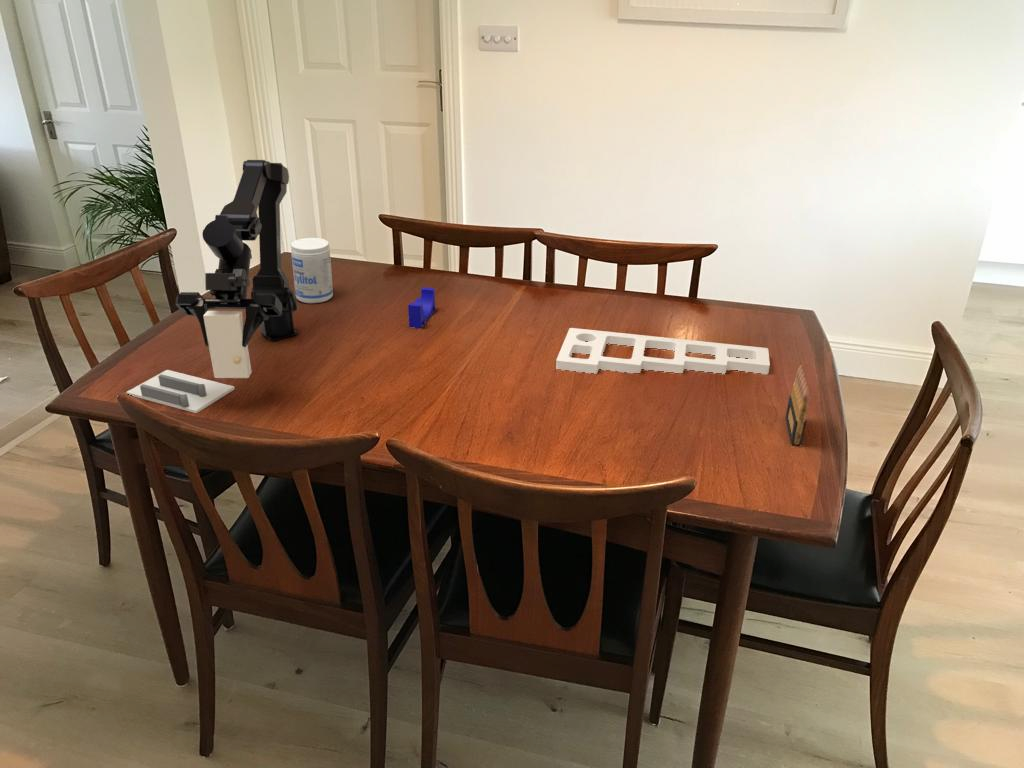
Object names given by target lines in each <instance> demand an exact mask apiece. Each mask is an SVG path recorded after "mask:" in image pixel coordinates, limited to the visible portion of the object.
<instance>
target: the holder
mask: <svg viewBox="0 0 1024 768" xmlns="http://www.w3.org/2000/svg"><path fill="white" fill-rule="evenodd" d="M585 341H588V342H585ZM608 343H609V344H608ZM606 344H608V345H610V344H617V345H616V346H619V345H627V346H626V347H629V346H634V347H633V351H632V354H631V357H630V358H620V357H613V356H612V357H610V356H604V353H603V352H605V350H606V346H607V345H606ZM645 348H657V349H667V350H673V351H675V352H674V357H673V358H670V359H669V358H661V357H652V356H645V352H646V349H645ZM657 349H656V350H657ZM644 351H645V352H644ZM673 351H672V352H673ZM686 352H692V353H691V354H694V353H702V354H701V355H703V354H711V355H710V356H712V355H715V356H714V359H712V358H702V357H695V356H687V355H686V354H687V353H686ZM572 353H574V354H578V353H581V354H580V355H586V354H590V355H589V357H588V358H578V357H572V356H573V354H572ZM729 356H730V357H729ZM736 357H740V358H736ZM745 358H748V359H745ZM555 361H556V363H555V369H556V370H557V369H561V370H560V371H565V370H569V371H568V372H573V371H576V373H582V372H585V373H584V374H591V373H594V374H595V375H596V374H598V371H606V370H610V371H609V372H615V371H618V372H617V373H624V372H627V373H626V374H633V373H640V374H641V371H642V370H641V369H644V370H643V371H648V370H654V371H653V372H657V371H664V372H663V373H666V372H674V373H683V374H684V371H685V370H684V369H687V370H686V371H689V370H695V371H694V372H698V371H704V372H703V373H707V372H713V373H712V374H716V373H722V374H721V375H726V374H725V373H727V371H730V370H738V371H737V372H739V371H745V372H744V373H748V372H753V373H752V374H757V373H761V374H760V375H769V371H770V366H771V364H770V363H771V362H770V355H769V348H768V347H759V346H751V345H740V344H732V343H731V344H730V343H720V342H712V341H702V340H692V339H685V338H684V339H681V338H672V337H662V336H653V335H645V334H634V333H624V332H615V331H614V332H613V331H605V330H604V331H603V330H595V329H586V328H585V329H584V328H578V327H570V328H568V331H567V334H566V336H565V338H564V341H563V343H562V345H561V348H560V351H559V352H558V354H557V357H556V360H555ZM599 369H601V370H599ZM674 373H673V374H674ZM594 374H593V375H594Z"/></svg>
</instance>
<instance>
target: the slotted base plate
mask: <svg viewBox="0 0 1024 768" xmlns="http://www.w3.org/2000/svg"><path fill="white" fill-rule="evenodd" d="M234 390H235V386H233V385H230V384H225V383H221V382H218V381H214V380H209V379H205V378H201V377H198V376H194V375H189V374H187V373H186V374H185V373H182V372H178V371H174V370H170V369H166V370H164V371H162V372H160V373H158V374H157V375H155V376H153V377H151V378H149V379H148V380H145V381H144V382H142V383H140V384H138V385H136V386H134V387H132V389H129V390H127V391H126V392H125V393H126V395H127V394H129V395H128V396H130V395H132V396H131V397H135V398H137V399H142V400H146V401H150V402H153V403H157V404H160V405H163V406H168V407H172V408H175V409H179V410H183V411H186V412H190V413H194V414H197V413H199V412H201V411H203V410H204V409H205V408H207V407H209V406H210V405H212V404H214V403H215V402H217V401H219V400H220V399H221V398H223V397H225V396H226V395H228V394H229V393H231V392H233V391H234Z"/></svg>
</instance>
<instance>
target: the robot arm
mask: <svg viewBox="0 0 1024 768" xmlns="http://www.w3.org/2000/svg"><path fill="white" fill-rule="evenodd" d="M289 182H290V176H289V170H288V168H287V167H286V166H284V165H283V164H282V162H270V161H269V160H268V161H267V160H265V159H246V160H244V161H243V163H242V174H241V177H240V180H239V183H238V185H237V188H236V191H235V195H234V198H233V199H232V201H231V202H229V203H227V204H226V205H224V206H223V208H222V209H221V211H220V213H219V214H215V218H214V219H213V220H212V221H210V222H209V223H207V224H206V225H205V227H204V228H203V230H202V240H203V241H204V242H205V244H206V245H207V246H208V248H209V249H210V250H211V252H212V253H213V255H214V256H215V257H217V259H218V268H216V269H215V271H214V272H206V273H204V274H205V275H204V276H205V279H204V280H205V281H204V283H205V291H209V293H210V295H211V296H212V297H213V296H214V298H204V297H203V296H202V295H201V293H200V292H196V291H195V292H194V291H193V292H192V291H190V292H189V291H187V292H186V291H185V292H184V291H181V292H180V293H178V295H177V296H176V297H175V306H176V307H177V308H178V309H179V311H181V312H182V313H183V314H184V315H186V316H188V317H195V318H196V319H197V320H198V322H199V325H200V329H201V332H202V333H201V334H202V337H203V341H204V344H205V345H204V346H205V347H207V348H209V345H208V339H207V334H206V328H205V323H204V317H203V316H204V314H205V313H206V312H207V311H211V310H215V309H216V310H245V321H244V331H243V339H242V346H243V347H246V346H247V345H249V343H250V340H251V339H252V337H253V336H254V334H255V333H256V331H257V330H258V328H259V327H260V329H261V330H260V333H261V334H262V335H263V336H265V337H266V338H267V339H269V340H270V341H272V342H274V341H279V340H283V339H286V338H291V337H294V336H296V335H297V336H298V332H297V331H296V330H295V327H294V318H293V312H297V311H298V303H297V302H298V301H297V298H296V294H295V292H293V290H292V288H291V287H290V280H289V278H288V277H287V275H286V274H285V272H284V271H283V269H282V246H281V245H282V244H281V243H282V242H281V215H280V214H281V213H280V212H281V210H280V209H281V208H280V205H281V202H282V201H283V199H284V198H285V196H286V194H287V192H288V191H287V187H288V184H289ZM257 212H258V213H257ZM258 237H259V270H258V272H257V273H256V274H255V275H254V276H253V277H252V288H251V291H250V298H247V296H248V288H249V287H251V286H250V284H251V281H250V280H249V277H250V267H251V260H252V259H253V257H252V249H251V247H250V246H249V245H248V244H247V243H246V242H243V241H249V242H250V241H256V240H257V238H258Z"/></svg>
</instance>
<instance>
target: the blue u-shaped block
mask: <svg viewBox="0 0 1024 768" xmlns="http://www.w3.org/2000/svg"><path fill="white" fill-rule="evenodd" d="M435 289H436V288H434V287H425V286H423V287H422V288H421V290H420V293H421V294H420V297H417V298H416V300H415V301H414V302H409V304H408V305H407V306H408V308H407V309H408V325H409V327H415V328H414V329H418V328H422V329H423V327H422V325H424V324H425V325H426V323H427V322H428V321H429V319H430V318H431V317H432V315H433V314H434V313H435V311H436V292H435V291H436V290H435ZM429 317H430V318H429ZM428 318H429V319H428ZM427 320H428V321H427ZM426 321H427V322H426ZM425 322H426V323H425ZM425 325H424V326H425Z"/></svg>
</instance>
